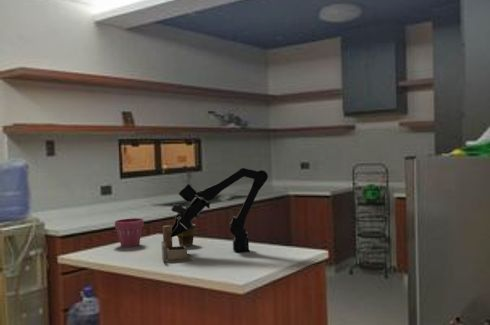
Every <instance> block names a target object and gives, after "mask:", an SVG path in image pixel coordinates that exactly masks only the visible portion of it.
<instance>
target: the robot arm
mask: <svg viewBox="0 0 490 325" xmlns="http://www.w3.org/2000/svg"><path fill="white" fill-rule="evenodd" d="M242 178H249V179H253V180H252V184H251V187H250V189H249V191H248V194H247V195H246V197H245V200H244V201H243V205H242V207H241V208H240V211H239V213H238V214H237V215H233V216H232V219H231V221H230V222H229V227H230V228H229V231H230V233H231V234H232V235H233V240H232V250H233V251H234V252H235V253H244V252H250V251H251V250H250V247H249V246H250V245H249V243H250V242H249V236H248V230H246V229H245V228H244V227H245V223H246V218H247V217H248V215H249V212H250V209H251V208H252V206H253V203H254V202H255V199H256V198H257V195H258V194H259V191H260V190H261V188H263V186H264V185H265V183H266V182H267V180H268V178H269V175H268V173H267V172H266V171H265V170H264V169H257V170H253V169H250V168H246V167H241V168H239V169H238V170H237V171H235V172H234V173H232V174H231V175H229V176H227V177H226V178H224V179H222V180H221V181H220V182H218V183H216V184H212V185H210V186H208V187H206V188H205V189H202V190H199V191H197V190H196V189H195V188H194V187H192V185H191V184H190V183H188V184H187V185H186V186H185V187H184V188H182V189H181V191H179V193H178V195H179V196H180V197H181V198H182V199H183V200H184V201H185V202H186V203H190V204H189V205H188V206H186V207H183V205H182V204H180V203H178V204H176V203H173V204H172V207H171V211H172V212H173V213H176V215H175V217H174V223H173V225H171V226H172V234H171V237H172V238H174V237H176V236H177V235H178V234H181V233H183V232H185V231H188V230H190V229H191V227H192V224H193V223H192V222H193V221H194V220H195V218H198V217H199V214H200V213H201V212H202V211H203V210H204V209H205V208H207V209H209V210H210V209H211V208H210V207H211V206H210V205H211V203H210V201H213V199H215V198H216V197H217V196H218V195H219V194H220V193H221V192H222V191H224V190H225V189H227V188H228V187H229V186H231V185H233V184H234V183H236V182H238V181H239V180H240V179H242ZM187 229H188V230H187Z"/></svg>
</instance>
